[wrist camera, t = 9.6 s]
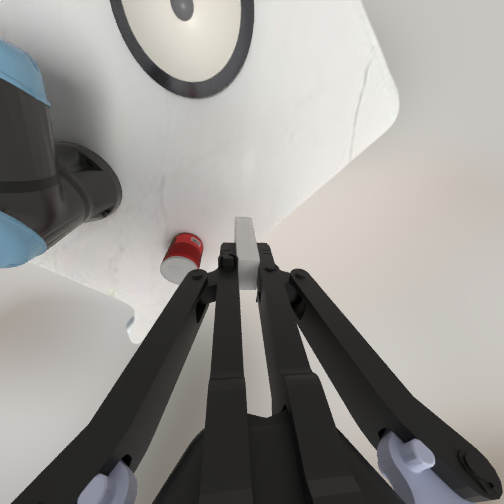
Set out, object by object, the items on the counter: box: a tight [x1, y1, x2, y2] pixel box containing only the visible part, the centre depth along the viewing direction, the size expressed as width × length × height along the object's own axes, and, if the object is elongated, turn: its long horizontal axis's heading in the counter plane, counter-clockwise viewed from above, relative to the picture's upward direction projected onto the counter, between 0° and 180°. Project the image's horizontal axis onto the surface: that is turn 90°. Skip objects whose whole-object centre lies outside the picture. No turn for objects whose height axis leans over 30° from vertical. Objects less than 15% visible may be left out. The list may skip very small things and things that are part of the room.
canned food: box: [160, 233, 203, 284], centre depth 47 cm, size 8×8×11 cm
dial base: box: [110, 0, 254, 99], centre depth 29 cm, size 20×20×2 cm
